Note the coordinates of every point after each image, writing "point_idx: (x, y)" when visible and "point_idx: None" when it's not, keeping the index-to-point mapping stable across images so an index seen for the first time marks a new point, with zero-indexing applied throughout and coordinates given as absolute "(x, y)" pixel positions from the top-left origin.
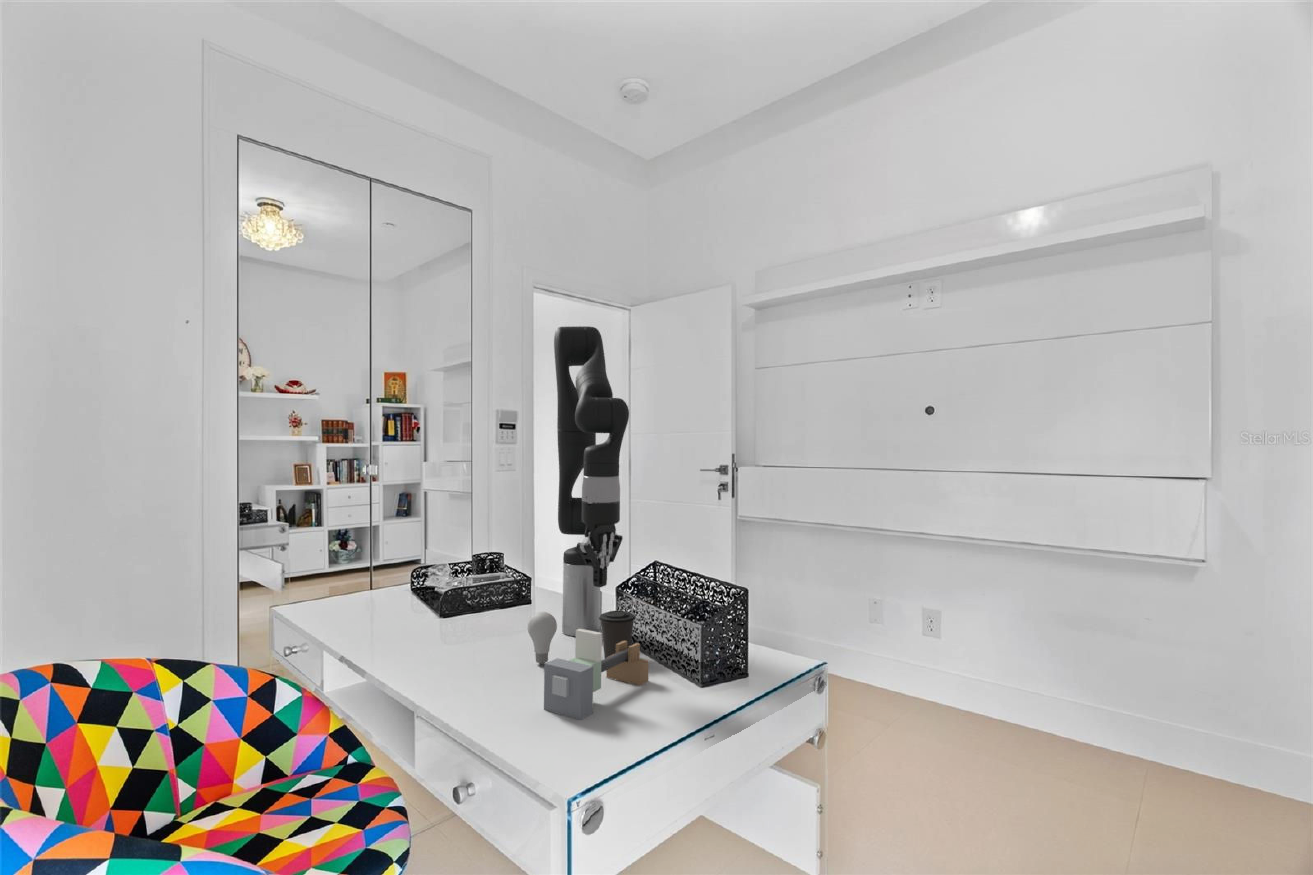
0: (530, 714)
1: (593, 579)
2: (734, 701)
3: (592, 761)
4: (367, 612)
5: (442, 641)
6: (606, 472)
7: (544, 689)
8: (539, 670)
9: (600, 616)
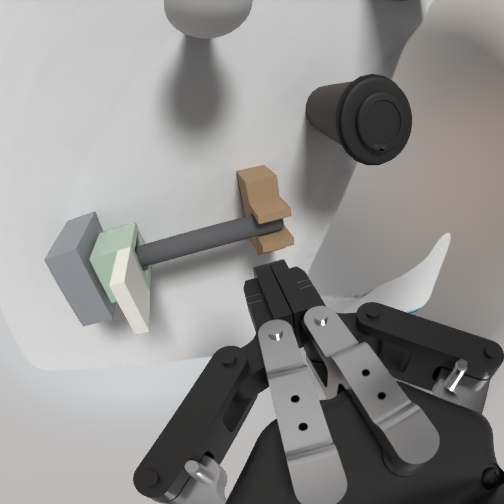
0: (46, 224)
1: (246, 296)
2: None
3: (67, 352)
4: None
5: None
6: None
7: (58, 236)
8: (169, 48)
9: (351, 90)
